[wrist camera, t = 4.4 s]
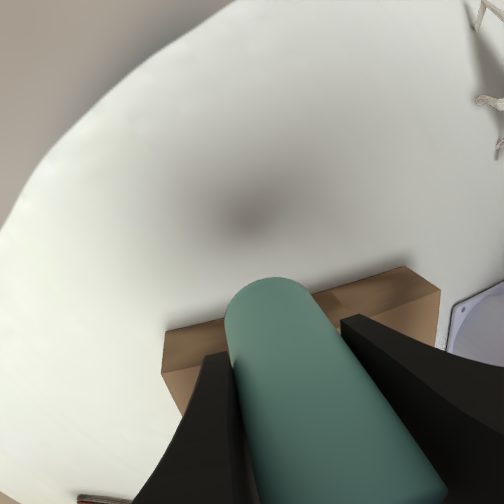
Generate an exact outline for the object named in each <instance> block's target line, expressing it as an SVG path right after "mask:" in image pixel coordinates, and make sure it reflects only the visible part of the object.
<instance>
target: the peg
mask: <svg viewBox="0 0 504 504" xmlns="http://www.w3.org/2000/svg"><path fill="white" fill-rule="evenodd" d="M224 324H225V332H226V337H227V343H228V348H229V354H230V359H231V365H232V368H233V373H234V378H235V384H236V389H237V394H238V401H239V407H240V412H241V417H242V422H243V426H244V431H245V436H246V441H247V446H248V450H249V455H250V460H251V464H252V469H253V473H254V478H255V482H256V487H257V491H258V495H259V500H260V504H441V503H442V502H443V501H444V499H445V498H446V496H447V494H448V488H447V487H446V485H445V484H444V482H443V481H442V479H441V478H440V476H439V475H438V473H437V472H436V470H435V469H434V467H433V466H432V464H431V463H430V461H429V460H428V459H427V457H426V456H425V454H424V453H423V451H422V450H421V448H420V447H419V445H418V444H417V443H416V441H415V440H414V438H413V437H412V435H411V434H410V432H409V431H408V430H407V428H406V427H405V425H404V424H403V422H402V421H401V420H400V418H399V417H398V415H397V414H396V412H395V411H394V410H393V408H392V407H391V405H390V404H389V402H388V401H387V400H386V398H385V397H384V395H383V394H382V393H381V391H380V390H379V388H378V387H377V386H376V384H375V383H374V381H373V380H372V379H371V377H370V376H369V374H368V373H367V372H366V370H365V369H364V367H363V366H362V365H361V363H360V362H359V360H358V359H357V358H356V356H355V355H354V354H353V352H352V351H351V349H350V348H349V347H348V345H347V344H346V342H345V341H344V340H343V338H342V337H341V336H340V334H339V333H338V331H337V330H336V329H335V327H334V326H333V325H332V323H331V322H330V321H329V319H328V318H327V316H326V315H325V314H324V312H323V311H322V310H321V308H320V307H319V306H318V304H317V303H316V301H315V300H314V299H313V297H312V296H311V295H310V293H309V292H308V291H307V290H306V289H305V288H304V287H303V286H302V285H300V284H299V283H297V282H295V281H293V280H290V279H287V278H280V277H272V278H265V279H261V280H258V281H255V282H253V283H251V284H249V285H247V286H246V287H244V288H243V289H242V290H240V291H239V292H238V293H237V294H236V295H235V296H234V298H233V299H232V300H231V302H230V304H229V305H228V308H227V310H226V314H225V320H224Z"/></svg>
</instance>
